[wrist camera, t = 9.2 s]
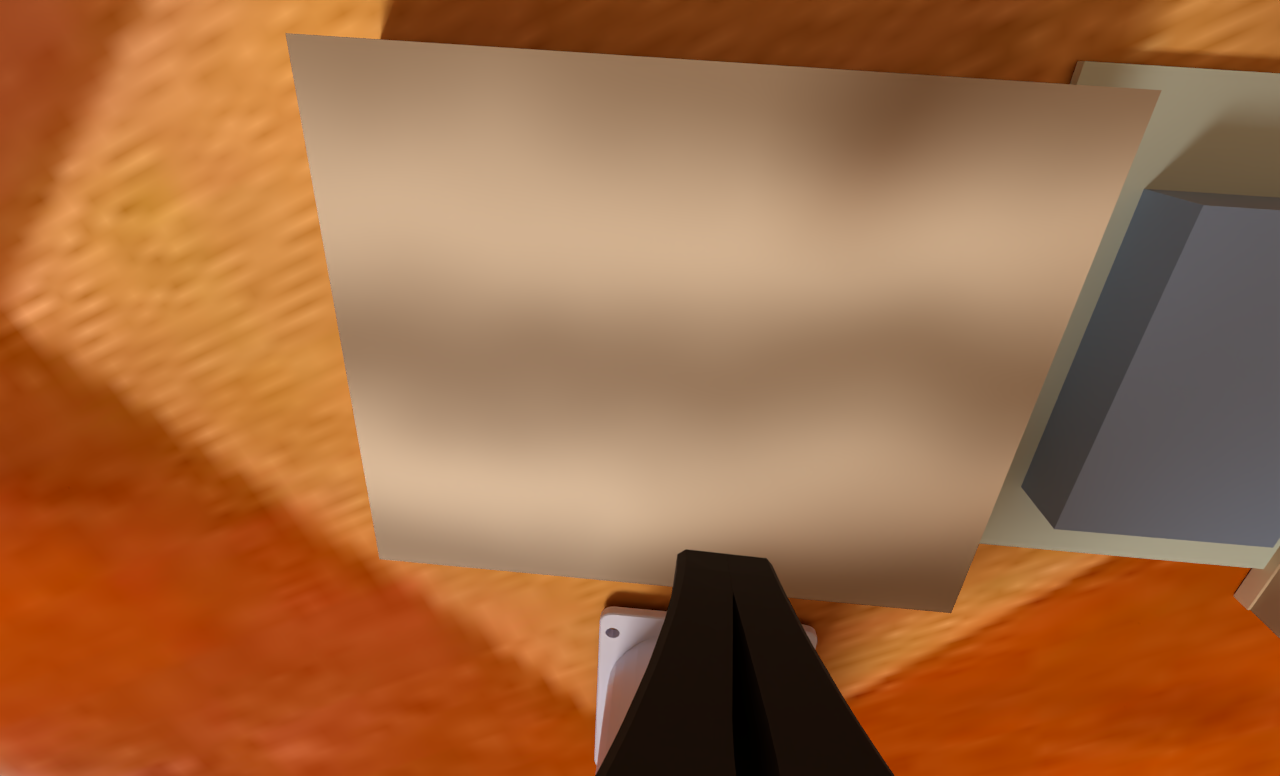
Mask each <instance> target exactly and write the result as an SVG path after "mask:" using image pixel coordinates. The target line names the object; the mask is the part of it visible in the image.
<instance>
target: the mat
mask: <svg viewBox="0 0 1280 776" xmlns="http://www.w3.org/2000/svg"><path fill="white" fill-rule="evenodd" d="M1070 84H1073V85H1089V86H1104V87H1119V88H1135V89H1150V90H1162V91H1161V93H1160V96H1159V98H1158V101H1157V103H1156V106H1155V108H1154V111H1153V113H1152V116H1151V118H1150V120H1149V123H1148V125H1147V128H1146V130H1145V133H1144V135H1143V138H1142V140H1141V143H1140V145H1139V148H1138V150H1137V153H1136V155H1135V158H1134V160H1133V163H1132V165H1131V168H1130V170H1129V173H1128V175H1127V178H1126V180H1125V183H1124V185H1123V188H1122V190H1121V193H1120V195H1119V197H1118V200H1117V202H1116V205H1115V207H1114V210H1113V212H1112V215H1111V217H1110V220H1109V222H1108V225H1107V227H1106V230H1105V232H1104V235H1103V237H1102V240H1101V242H1100V245H1099V247H1098V250H1097V252H1096V255H1095V257H1094V260H1093V262H1092V265H1091V267H1090V270H1089V272H1088V274H1087V277H1086V279H1085V282H1084V284H1083V287H1082V289H1081V292H1080V294H1079V297H1078V299H1077V302H1076V304H1075V307H1074V309H1073V312H1072V314H1071V317H1070V319H1069V322H1068V324H1067V327H1066V329H1065V332H1064V334H1063V337H1062V339H1061V342H1060V344H1059V347H1058V349H1057V351H1056V354H1055V356H1054V359H1053V361H1052V364H1051V366H1050V369H1049V371H1048V374H1047V376H1046V379H1045V381H1044V384H1043V386H1042V389H1041V391H1040V394H1039V396H1038V399H1037V401H1036V404H1035V406H1034V409H1033V411H1032V414H1031V416H1030V419H1029V421H1028V424H1027V426H1026V429H1025V431H1024V433H1023V436H1022V438H1021V441H1020V443H1019V446H1018V448H1017V451H1016V453H1015V456H1014V458H1013V461H1012V463H1011V466H1010V468H1009V471H1008V473H1007V476H1006V478H1005V481H1004V483H1003V486H1002V488H1001V491H1000V493H999V496H998V498H997V501H996V503H995V506H994V508H993V510H992V513H991V515H990V518H989V520H988V523H987V525H986V528H985V530H984V533H983V535H982V538H981V540H980V544H991V545H1002V546H1013V547H1024V548H1035V549H1046V550H1057V551H1068V552H1080V553H1091V554H1102V555H1113V556H1124V557H1135V558H1146V559H1157V560H1168V561H1179V562H1190V563H1201V564H1212V565H1223V566H1234V567H1245V568H1256V569H1264V568H1265V566H1266V565H1267V563H1268V562H1269V561H1270V559H1271V558H1272V556H1273V555H1274V553H1275V552H1276V550H1277V549H1278V548H1279V546H1280V538H1279V540H1278V541H1277V543H1276V544H1275V546H1274V547H1273V548H1270V547H1258V546H1246V545H1234V544H1223V543H1211V542H1199V541H1187V540H1176V539H1164V538H1152V537H1140V536H1128V535H1117V534H1105V533H1093V532H1081V531H1070V530H1058V529H1054V528H1053V527H1052V526H1051V525H1050V523H1049V522H1048V521H1047V519H1046V518H1045V517H1044V516H1043V514H1042V513H1041V512H1040V511H1039V509H1038V508H1037V507H1036V505H1035V504H1034V503H1033V502H1032V500H1031V499H1030V498H1029V497H1028V495H1027V494H1026V493H1025V491H1024V490H1023V489H1022V488H1021V485H1022V483H1023V481H1024V478H1025V476H1026V473H1027V471H1028V468H1029V466H1030V464H1031V461H1032V459H1033V456H1034V454H1035V452H1036V449H1037V447H1038V444H1039V442H1040V439H1041V437H1042V435H1043V432H1044V430H1045V427H1046V425H1047V422H1048V420H1049V418H1050V415H1051V413H1052V410H1053V408H1054V406H1055V403H1056V401H1057V398H1058V396H1059V393H1060V391H1061V389H1062V386H1063V384H1064V381H1065V379H1066V376H1067V374H1068V372H1069V369H1070V367H1071V364H1072V362H1073V359H1074V357H1075V355H1076V352H1077V350H1078V347H1079V345H1080V343H1081V340H1082V338H1083V335H1084V333H1085V330H1086V328H1087V326H1088V323H1089V321H1090V318H1091V316H1092V313H1093V311H1094V309H1095V306H1096V304H1097V301H1098V299H1099V296H1100V294H1101V292H1102V289H1103V287H1104V284H1105V282H1106V280H1107V277H1108V275H1109V272H1110V270H1111V267H1112V265H1113V263H1114V260H1115V258H1116V255H1117V253H1118V250H1119V248H1120V246H1121V243H1122V241H1123V238H1124V236H1125V234H1126V231H1127V229H1128V226H1129V224H1130V221H1131V219H1132V217H1133V214H1134V212H1135V209H1136V207H1137V204H1138V202H1139V200H1140V197H1141V195H1142V192H1143V190H1144V189H1155V190H1170V191H1186V192H1201V193H1217V194H1232V195H1247V196H1263V197H1278V198H1280V73H1265V72H1249V71H1234V70H1218V69H1202V68H1187V67H1171V66H1155V65H1139V64H1124V63H1108V62H1092V61H1077V64H1076V67H1075V70H1074V73H1073V76H1072V79H1071V82H1070Z"/></svg>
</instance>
